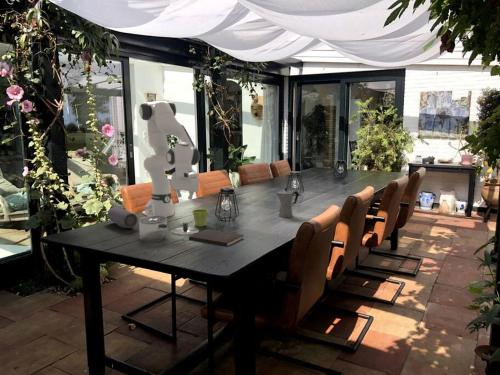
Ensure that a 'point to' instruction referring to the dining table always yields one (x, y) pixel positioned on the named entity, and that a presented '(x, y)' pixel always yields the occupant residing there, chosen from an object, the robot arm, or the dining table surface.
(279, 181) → the dining table surface
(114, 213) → the bluetooth speaker
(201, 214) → the plant pot
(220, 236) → the hardcover book
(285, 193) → the coffeepot
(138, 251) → the dining table surface
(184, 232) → the lid
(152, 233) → the cooker
